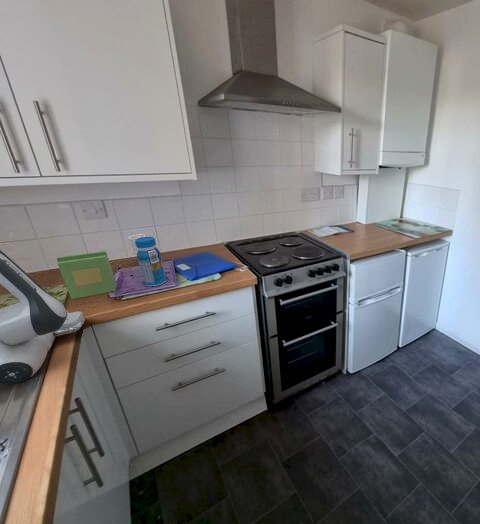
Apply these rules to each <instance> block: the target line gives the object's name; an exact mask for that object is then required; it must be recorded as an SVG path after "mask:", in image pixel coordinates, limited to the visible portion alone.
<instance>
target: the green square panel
mask: <svg viewBox="0 0 480 524" xmlns="http://www.w3.org/2000/svg"><path fill="white" fill-rule="evenodd" d="M56 261H57V266H58V269H59V271H60V274H61V276H62V279H63V282H64V284H65V287H66V289H67V292H68V294H69V297H70V300H76V299H80V298H81V299H82V298H86V297H91V296H97V295H101V294H108V293H112V292H111V291H113V292H117V289H116V288H118V284H117V281H116V278H115V275H114V272H113V269H112V265H111V261H110V259H109V256H108V253H107V251H106V250H102V251H95V252H89V253H88V252H87V253H80V254H73V255H66V256H58V257H57V258H56Z"/></svg>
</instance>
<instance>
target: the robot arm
mask: <svg viewBox="0 0 480 524" xmlns="http://www.w3.org/2000/svg"><path fill="white" fill-rule="evenodd" d="M0 285H1V286H2V287H3V288H4V289H6V290H7V291H8V292H9V293H10V294H12V296H14V297H15V298H16V299H17V300H18V301H19V302H18V301H17V302H16V303H13V304H10V305H7V306H4V307H2V308H0V385H13V384H18V383H21V382H24V381H27V380H28V379H30V378H31V377H33V376H34V375H35V374H36V373H37V372H38V371H39V370H40V369H41V368H42V366H43V364H44V362H45V360H46V358H47V355H48V352H49V351H50V350H51V348H52V346H53V343H54V342H55V339H56V337H61V336H65V335H69V334H72V333H75V332H77V331H79V330H80V329H81V328H82V327H83V325H84V323H85V322H86V318H85V315H84V313H83V312H82V311H79V310H78V311H73V312H69V310H68V309H66V307H65V305H64V304H63V303H62V302H61V301H60V300H59V299H58V298H57V297H55V296H54V295H52V294H51V293H49V292H48V291H47V290H46V289H44V288H43V287H42V286H41V285H40V284H39V283H38V282H36V281H35V279H33V277H31V276H30V275H29V274H28V273H27V272H26V271H25V270H24V269H22V268H21V267H20V266H19V265H18V264H17V262H15V261H14V260H13V259H12V258H11V257H9V256H8V255H7V254H6V253H5V252H4V251H2V250H1V249H0Z"/></svg>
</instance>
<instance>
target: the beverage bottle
mask: <svg viewBox="0 0 480 524" xmlns="http://www.w3.org/2000/svg"><path fill="white" fill-rule="evenodd" d="M137 238H138V239H136V240H134V241H135V243H136V246H137V248H138V249H139V250H138V252H137V255H136V258H137V259H138V260H137V263H138V265H139V266H140V267H139V268H140V271H141V274H142V278H143V284H144V286H146V287H150V288H152V286H153V287H158V286H161V285H164V284H165V283H167V277H166V272H165V269H164V268H165V267H164V265H163V257H162V256H161V251H160V250H159V248H157V242H156V239H155V237H154V236H146V237H141V238H139V237H137Z"/></svg>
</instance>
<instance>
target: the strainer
mask: <svg viewBox="0 0 480 524" xmlns="http://www.w3.org/2000/svg"><path fill="white" fill-rule="evenodd" d="M141 237H147V236H146V234H144V233H138V234H133V235H129V236H127V239H128V241H130V244H131V247H132V251H131V253H132V255H134V256H137V252H138V250H139V249H138V248H137V246H136V243H135V240H136V239H138V238H141Z"/></svg>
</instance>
